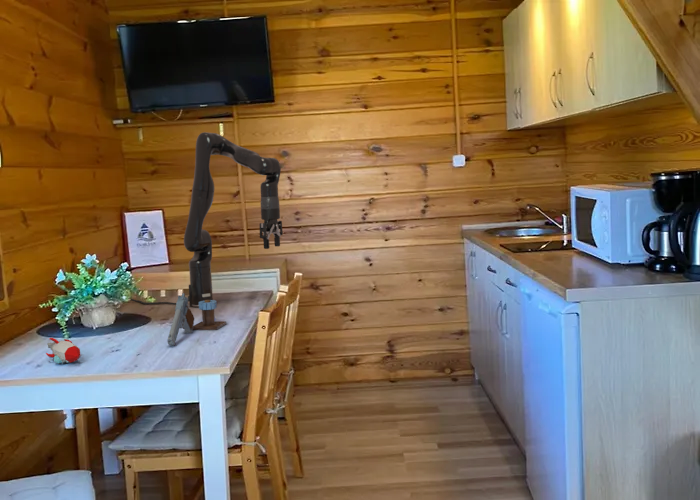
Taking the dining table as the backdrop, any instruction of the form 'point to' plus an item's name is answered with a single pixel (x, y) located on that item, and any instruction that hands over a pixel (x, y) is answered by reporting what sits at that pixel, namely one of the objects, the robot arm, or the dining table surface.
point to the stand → (208, 321)
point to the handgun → (181, 319)
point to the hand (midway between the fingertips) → (272, 247)
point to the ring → (207, 305)
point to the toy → (63, 351)
